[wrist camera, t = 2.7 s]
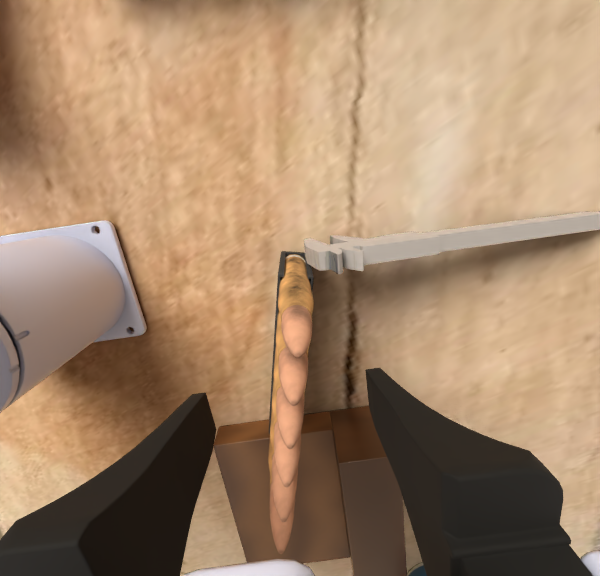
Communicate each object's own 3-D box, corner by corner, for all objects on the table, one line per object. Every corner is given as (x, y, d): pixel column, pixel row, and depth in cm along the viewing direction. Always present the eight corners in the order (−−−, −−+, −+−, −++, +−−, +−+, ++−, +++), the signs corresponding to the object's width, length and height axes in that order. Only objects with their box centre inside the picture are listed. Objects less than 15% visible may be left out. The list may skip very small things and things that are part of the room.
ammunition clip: (296, 388, 24) (302, 569, 12) (272, 387, 24) (256, 569, 12) (308, 252, 21) (331, 329, 9) (281, 250, 21) (269, 325, 9)
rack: (251, 545, 29) (244, 615, 24) (219, 426, 25) (201, 482, 20) (388, 527, 29) (408, 594, 24) (379, 404, 25) (400, 455, 20)
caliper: (304, 253, 21) (309, 279, 15) (303, 237, 20) (307, 257, 14) (605, 224, 21) (733, 238, 15) (609, 208, 20) (741, 215, 14)
